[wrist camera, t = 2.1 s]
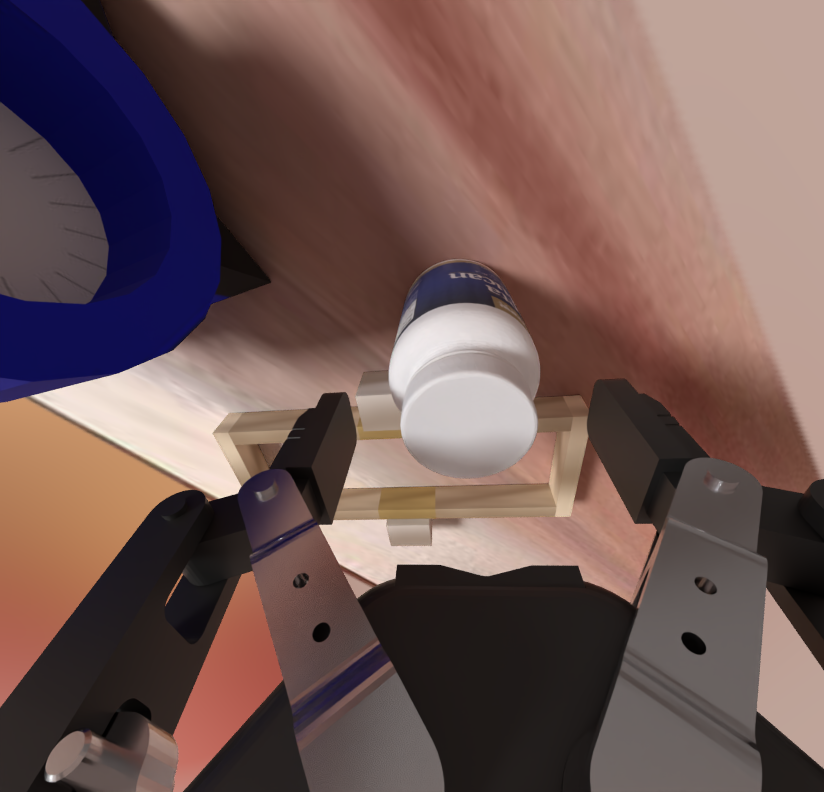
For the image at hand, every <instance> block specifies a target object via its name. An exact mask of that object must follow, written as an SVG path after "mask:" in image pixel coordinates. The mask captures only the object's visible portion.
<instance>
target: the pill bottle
mask: <svg viewBox="0 0 824 792" xmlns="http://www.w3.org/2000/svg"><path fill="white" fill-rule="evenodd" d="M539 382H540V362H539V356H538V353H537V350H536V347H535V345H534V342H533V340H532V338H531V336H530V333H529V332H528V330H527V327H526V325H525V323H524V321H523V319H522V317H521V315H520V313H519V311H518V310H517V308H516V306H515V303H514V302H513V300H512V298H511V296H510V294H509V292H508V290H507V288H506V286H505V284H504V283H503V281H502V280H501V279H500V277H499V276H498V275H497V274H496V273H495V272H494V271H492V270H491V269H490V268H488V267H487V266H485V265H483V264H481V263H479V262H476V261H472V260H467V259H451V260H446V261H442V262H440V263H437V264H435V265H433V266H431V267H429V268H428V269H426V270H425V271H424V272H423V273H422V274H421V275H420V276H419V277H418V278H417V279H416V280H415V281H414V283H413V284H412V286H411V288H410V290H409V292H408V294H407V297H406V299H405V303H404V307H403V311H402V315H401V319H400V323H399V327H398V332H397V336H396V340H395V344H394V347H393V351H392V355H391V360H390V365H389V386H390V391H391V395H392V397H393V400H394V402H395V404H396V406H397V408H398V409H399V411H400V412H401V423H400V427H401V434H402V438H403V441H404V443H405V446H406V447H407V449H408V451H409V452H410V453H411V455H412V456H413V457H414V458H415V459H416V460H417V461H418V462H419V463H420V464H422V465H423V466H425V467H426V468H428V469H430V470H432V471H434V472H436V473H438V474H441V475H445V476H449V477H454V478H481V477H486V476H490V475H493V474H496V473H499V472H501V471H504V470H506V469H508V468H509V467H511V466H513V465H514V464H516V463H517V462H518V461H519V460H520V459H521V458H522V457H523V456H524V455H525V454H526V453H527V452H528V450H529V449H530V448H531V446H532V444H533V442H534V440H535V437H536V434H537V430H538V416H537V411H536V407H535V404H534V402H533V400H534V398H535V395H536V393H537V390H538V387H539Z"/></svg>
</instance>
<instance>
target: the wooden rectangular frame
mask: <svg viewBox="0 0 824 792" xmlns="http://www.w3.org/2000/svg"><path fill="white" fill-rule="evenodd" d="M355 397H356V401H357V406H358V407H351V410H352V414H353V418H354V422H355V426H356V433H357V440H369V439H393V438H402V434H401V427H400V423H401V412H400V411H399V409H398V408H397V406H396V404H395V402H394V400H393V397H392V395H391V391H390V386H389V371H375V372H364V373H363V376H362V378H361V381H360V384H359V387H358V390H357V393H356V396H355ZM533 402H534V404H535V407H536V411H537V416H538V430H537V433H540V432H557V435H556V442H555V448H554V454H553V461H552V467H551V474H550V480H549V484H520V485H480V486H440V487H400V488H360V489H343V490H342V493H341V496H340V500H339V503H338V506H337V510H336V513H335V516H334V520H369V519H387V524H386V527H387V531H388V535H389V539H390V543H391V546H432V519H436V518H504V517H570V516H571V511H572V507H573V502H574V498H575V493H576V489H577V484H578V480H579V475H580V471H581V466H582V462H583V457H584V453H585V448H586V444H587V439H588V432H587V418H588V413H589V409H588V407H587V406H586V404H585V402H584V400H583V399H582V397H581V395H575V396H556V397H536V398H534V400H533ZM307 410H308V409H305V410H285V411H266V412H247V413H229V414H228V415H227V416H226V417H225V419H224V420H223V421H222V422H221V424H220V425H219V426H218V427H217V428H216V430H215V431H214V432H213V435H214V437H215V439H216V440H217V442H218V444H219V446H220V448H221V450H222V451H223V453H224V455H225V457H226V459H227V460H228V462H229V464H230V466H231V468H232V469H233V471H234V473H235V475H236V477H237V479H238V480H239V482H240V484H241V486H243V484H244V483H245V482H246V481H247V480H249V479H250V478H251V477H253V476H254V475H256V474H258V473H260V472H263V471H266V470H269V467H268V465H267V463H266V461H265V458H264V456H263V454H262V452H261V450H260V448H259V446H258V444H271V443H284V442H285V440H286V439H287V437H288V435H289V433H290V431H292V428H293V426H294V424H295V422H296V421H297V419H298V417H300V416H301V415H302V414H303V413H304V412H305V411H307Z"/></svg>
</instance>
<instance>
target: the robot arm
mask: <svg viewBox="0 0 824 792" xmlns="http://www.w3.org/2000/svg"><path fill="white" fill-rule="evenodd" d="M587 432H588V436H589V439H590V441H591V443H592V444H593V446H594V448H595V450H596V452H597V454H598V456H599V458H600V459H601V461H602V463H603V465H604V467H605V469H606V471H607V473H608V474H609V476H610V478H611V480H612V482H613V484H614V486H615V487H616V489H617V491H618V493H619V495H620V497H621V499H622V501H623V502H624V504H625V506H626V508H627V510H628V512H629V514H630V515H631V517H632V519H633V521H634V523H635V524H653V525H654V526H655V528H656V530H657V531H656V533H655V536H654V538H653V541H652V544H651V546H650V549H649V552H648V555H647V558H646V561H645V563H644V566H643V569H642V572H641V575H640V577H639V580H638V583H637V586H636V589H635V591H634V594H633V597H632V599H631V602H630V603H629V602H628V601H626V600H625V599H623V598H621V597H620V596H618V595H616V594H615V593H613V592H610V591H608V590H606V589H604V588H602V587H600V586H597V585H594V584H591V583H588V582H584V581H583V579H582V576H581V573H580V570H579V567H578V566H528V567H524V568H520V569H516V570H512V571H508V572H504V573H500V574H496V575H492V576H480V575H476V574H473V573H469V572H465V571H461V570H457V569H453V568H450V567H446V566H442V565H397V570H396V579H392V580H389V581H386V582H384V583H381V584H379V585H377V586H375V587H373V588H372V589H370V590H368V591H367V592H365V593H364V594H363V595H361V596H360V597H359V598H358V599H357V598H356V596H355V594H354V592H353V590H352V589H351V587H350V585H349V583H348V581H347V579H346V577H345V575H344V573H343V571H342V569H341V567H340V565H339V563H338V562H337V560H336V558H335V556H334V554H333V552H332V550H331V548H330V546H329V544H328V542H327V540H326V538H325V537H324V535H323V533H322V531H321V529H320V527H319V525H332V523H333V520H334V516H335V513H336V510H337V506H338V503H339V500H340V496H341V493H342V490H343V487H344V483H345V480H346V477H347V473H348V470H349V467H350V463H351V460H352V457H353V453H354V450H355V447H356V441H357V433H356V426H355V422H354V418H353V414H352V410H351V406H350V402H349V398H348V395H347V393H346V392H339V393H324V394H323V395H322V396H321V398H320V400H319V402H318V404H317V406H316V408H309V409H308V410H307V411H305V412H304V413H303V414H302V415H301V416H300V417H298V419H297V421H296V422H295V424H294V426H293V428H292V431H290V433H289V435H288V437H287V439H286V440H285V442H284V444H283V445H282V447H281V449H280V451H279V453H278V454H277V456H276V458H275V460H274V461H273V463H272V465H271V467H270V469H269V470H266V471H263V472H260V473H258V474H256V475H254V476H253V477H251V478H250V479H249V480H247V481H246V482H245V483H244V484H243V486H242V487H241V488H240V490H239V493H238V494H235V495H231V496H228V497H224V498H220V499H217V500H213V501H209V502H208V500H207V499H206V497H205V495H204V494H203V493H202V492H200V491H197V490H187V491H182V492H179V493H176V494H174V495H172V496H170V497H168V498H166V499H165V500H163V501H162V502H160V503H159V504H158V505H157V506H156V507H155V508H154V509H153V510H152V511H151V512H150V513H149V514H148V516H147V517H146V519H145V520H144V521H143V522H142V524H141V525H140V526H139V527H138V529H137V530H136V531H135V533H134V534H133V535H132V537H131V538H130V539H129V540H128V542H127V543H126V544H125V546H124V547H123V548H122V550H121V551H120V552H119V554H118V555H117V556H116V557H115V559H114V560H113V561H112V563H111V564H110V565H109V567H108V568H107V569H106V571H105V572H104V573H103V574H102V576H101V577H100V579H99V580H98V581H97V582H96V584H95V585H94V586H93V587H92V589H91V590H90V591H89V593H88V594H87V595H86V597H85V598H84V599H83V601H82V602H81V603H80V604H79V606H78V607H77V608H76V610H75V611H74V613H73V614H72V615H71V616H70V618H69V619H68V620H67V621H66V623H65V624H64V625H63V627H62V628H61V629H60V631H59V632H58V633H57V635H56V636H55V637H54V638H53V640H52V641H51V642H50V644H49V645H48V646H47V647H46V649H45V650H44V651H43V653H42V654H41V655H40V657H39V658H38V659H37V661H36V662H35V663H34V665H33V666H32V667H31V669H30V670H29V671H28V672H27V674H26V675H25V676H24V677H23V679H22V680H21V682H20V683H19V684H18V685H17V687H16V688H15V689H14V691H13V692H12V693H11V694H10V696H9V697H8V698H7V700H6V701H5V702H4V704H3V705H2V706H1V708H0V792H173V789H174V783H175V781H174V776H175V773H176V769H177V764H178V746H177V743H176V741H175V739H174V737H173V734H174V731H175V729H176V726H177V724H178V722H179V719H180V717H181V715H182V712H183V710H184V708H185V705H186V703H187V701H188V698H189V696H190V693H191V691H192V689H193V686H194V684H195V682H196V679H197V677H198V675H199V672H200V670H201V668H202V665H203V663H204V661H205V658H206V656H207V654H208V651H209V649H210V647H211V644H212V642H213V640H214V637H215V635H216V633H217V630H218V628H219V626H220V623H221V621H222V619H223V616H224V614H225V612H226V609H227V607H228V605H229V602H230V600H231V598H232V595H233V593H234V591H235V588H236V586H237V584H238V581H239V579H240V576H241V574H244V573H247V572H250V571H253V572H254V576H255V580H256V583H257V587H258V590H259V594H260V597H261V601H262V605H263V608H264V612H265V615H266V619H267V622H268V626H269V630H270V633H271V636H272V640H273V644H274V647H275V651H276V655H277V658H278V662H279V665H280V669H281V672H282V676H283V681H282V682H281V683H280V684H279V685H278V686H277V687H276V688H275V690H274V691H273V692H272V693H271V694H270V695H269V696H268V697H267V699H266V700H265V701H264V702H263V703H262V704H261V705H260V707H259V708H258V709H257V710H256V711H255V712H254V713H253V714H252V715H251V716H250V717H249V719H248V720H247V721H246V722H245V723H244V724H243V725H242V726H241V728H240V729H239V730H238V731H237V732H236V733H235V734H234V735H233V736H232V738H231V739H230V740H229V741H228V742H227V743H226V744H225V745H224V747H223V748H222V749H221V750H220V751H219V752H218V753H217V754H216V756H215V757H214V758H213V759H212V760H211V761H210V762H209V763H208V764H207V766H206V767H205V768H204V769H203V770H202V771H201V772H200V774H199V775H198V776H197V777H196V778H195V779H194V780H193V781H192V782H191V784H190V785H189V786H188V787H187V788H186V789H185V790H184V791H183V792H824V769H823V768H822V767H821V766H820V765H819V764H817V763H816V762H815V761H814V760H813V759H812V758H811V757H809V756H808V755H807V754H806V753H805V752H804V751H802V750H801V749H800V748H799V747H798V746H797V745H795V744H794V743H793V742H792V741H791V740H790V739H788V738H787V737H786V736H785V735H784V734H783V733H781V732H780V731H779V730H778V729H777V728H775V726H773V725H772V724H771V723H770V722H769V721H768V720H767V719H765V718H764V717H763V716H762V715H761V714H760V713H758V712H757V711H756V710H757V697H758V684H759V672H760V658H761V645H762V634H763V620H764V608H765V594H766V588H767V589H768V591H769V592H770V594H771V595H772V597H773V598H774V599H775V601H776V602H777V604H778V605H779V606H780V608H781V609H782V611H783V612H784V614H785V615H786V617H787V618H788V619H789V621H790V622H791V624H792V625H793V627H794V628H795V629H796V631H797V632H798V634H799V635H800V636H801V638H802V640H803V641H804V642H805V644H806V645H807V647H808V648H809V649H810V651H811V652H812V654H813V655H814V657H815V658H816V660H817V661H818V663H819V664H820V665H821V667H822V668H823V670H824V479H821V480H817V481H815V482H813V483H812V484H811V485H810V487H809V488H808V489H807V491H806V492H805V493H804V494H802V493H797V492H791V491H786V490H781V489H775V488H770V487H765V486H761V485H760V483H759V482H758V480H757V479H756V478H755V477H754V476H752V475H751V474H750V473H749V472H747V471H746V470H744V469H742V468H740V467H739V466H736V465H734V464H732V463H729V462H726V461H723V460H719V459H714V458H710V457H709V456H708V455H707V453H706V452H705V451H704V450H703V449H702V448H701V447H700V446H699V445H698V444H697V443H696V441H695V440H694V439H693V438H692V437H691V436H690V435H689V434H688V433H687V432H686V430H685V429H684V428H683V427H682V426H679V423H678V422H677V421H676V419H675V418H674V417H671V414H670V413H669V412H668V411H667V410H666V408H665V407H664V406H663V405H662V404H661V403H660V402H658V401H656V400H655V399H653V398H651V397H649V396H648V395H646V394H638V392H637V391H636V390H635V389H634V388H633V387H632V385H631V384H630V383H629V382H628V381H627V380H626V379H605V380H597V381H596V383H595V385H594V389H593V394H592V398H591V403H590V408H589V413H588V418H587ZM182 573H183V576H182V578H181V580H180V582H179V583H178V585H177V587H176V589H175V590H174V592H173V594H172V596H171V598H170V599H169V601H168V603H167V604H166V601H167V599H168V596H169V594H170V593H171V591H172V589H173V587H174V586H175V584H176V582H177V580H178V579H179V577H180V575H181V574H182ZM165 604H166V606H165Z"/></svg>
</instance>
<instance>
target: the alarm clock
mask: <svg viewBox="0 0 824 792" xmlns="http://www.w3.org/2000/svg"><path fill="white" fill-rule="evenodd" d="M268 283H271V281H270V279H269V278H268V277H267V276H266V275H265V273H264V272H263V271H262V270H261V269H260V267H259V266H258V265H257V264H256V263H255V261H254V260H253V259H252V258H251V257H250V255H249V254H248V253H247V252H246V251H245V249H244V248H243V247H242V246H241V245H240V243H239V242H238V241H237V240H236V239H235V237H234V236H233V235H232V234H231V233H230V231H229V230H228V229H227V228H226V227H225V225H224V224H223V223H222V222H221V221H220V219H219V218H218V217H217V216H216V215H215V211H214V206H213V202H212V198H211V194H210V190H209V188H208V186H207V183H206V181H205V179H204V177H203V175H202V173H201V170H200V168H199V166H198V164H197V162H196V160H195V157H194V155H193V153H192V151H191V149H190V147H189V144H188V142H187V140H186V138H185V136H184V134H183V133H182V131H181V130H180V128H179V127H178V125H177V124H176V122H175V121H174V119H173V117H172V116H171V114H170V113H169V111H168V110H167V108H166V107H165V105H164V104H163V102H162V101H161V99H160V98H159V96H158V95H157V93H156V92H155V90H154V89H153V87H152V86H151V84H150V83H149V81H148V80H147V78H146V77H145V75H144V74H143V72H142V71H141V70H140V69H139V68H138V66H137V65H136V64H135V63H134V62H133V61H132V59H131V58H130V57H129V56H128V55H127V54H126V52H125V51H124V50H123V49H122V48H121V47H120V45H119V44H118V43H117V42H116V41H115V40H114V38H113V35H112V32H111V29H110V27H109V24H108V21H107V18H106V16H105V13H104V10H103V7H102V5H101V2H100V0H0V403H1V402H8V401H11V400H16V399H19V398H23V397H27V396H31V395H35V394H39V393H43V392H47V391H51V390H55V389H59V388H63V387H66V386H70V385H74V384H78V383H82V382H86V381H90V380H94V379H98V378H102V377H106V376H110V375H113V374H117V373H120V372H123V371H125V370H127V369H130V368H132V367H134V366H137V365H139V364H142V363H144V362H146V361H149V360H151V359H153V358H156V357H158V356H160V355H163V354H165V353H168V352H170V351H172V350H174V349H175V348H176V347H177V346H178V345H179V344H180V343H181V342H182V341H183V340H184V339H185V338H186V337H187V336H188V335H189V334H190V333H191V332H192V331H193V330H194V329H195V328H196V327H197V326H198V325H199V324H200V323H201V322H202V321H203V320H204V319H205V317H206V315H207V312H208V310H209V307H210V305H211V304H213V303H216V302H218V301H221V300H224V299H227V298H229V297H232V296H235V295H238V294H240V293H243V292H246V291H249V290H251V289H254V288H257V287H260V286H263V285H265V284H268Z"/></svg>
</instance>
